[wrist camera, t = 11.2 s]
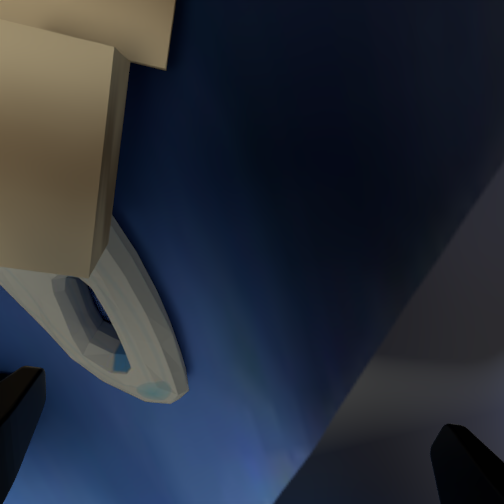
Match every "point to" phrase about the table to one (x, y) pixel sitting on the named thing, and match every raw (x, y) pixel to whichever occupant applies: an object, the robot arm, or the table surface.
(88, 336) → the spaceship
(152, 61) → the tan stacked blocks
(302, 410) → the table surface
